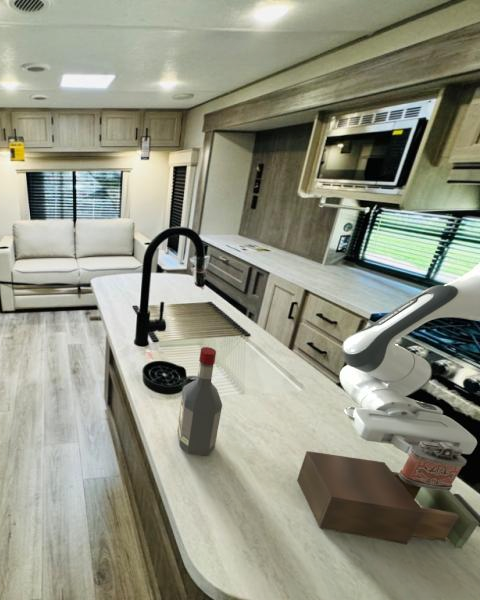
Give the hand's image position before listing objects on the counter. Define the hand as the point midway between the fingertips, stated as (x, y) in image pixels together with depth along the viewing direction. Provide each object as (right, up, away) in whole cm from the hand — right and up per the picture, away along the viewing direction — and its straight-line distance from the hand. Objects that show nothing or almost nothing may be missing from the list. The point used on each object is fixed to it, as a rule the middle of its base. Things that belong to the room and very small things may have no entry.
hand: (437, 460), depth 62 cm
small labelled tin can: (-1, -5, +2) cm, 6 cm away
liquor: (-39, -9, +26) cm, 48 cm away
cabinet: (-12, -15, +8) cm, 21 cm away
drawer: (0, -15, +5) cm, 16 cm away
